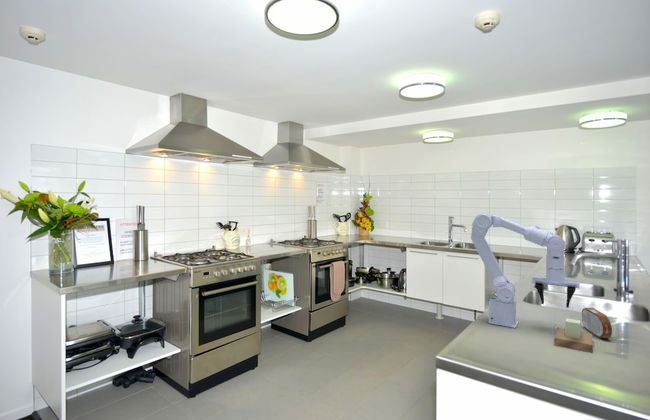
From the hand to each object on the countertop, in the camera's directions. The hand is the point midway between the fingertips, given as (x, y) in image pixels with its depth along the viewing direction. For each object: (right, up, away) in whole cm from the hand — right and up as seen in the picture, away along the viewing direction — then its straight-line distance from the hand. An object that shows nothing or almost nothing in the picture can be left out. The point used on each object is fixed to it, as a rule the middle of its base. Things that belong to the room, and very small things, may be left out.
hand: (554, 305), depth 130 cm
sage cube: (-1, -7, -11) cm, 14 cm away
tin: (+13, -10, -3) cm, 16 cm away
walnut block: (-1, -10, -11) cm, 15 cm away
